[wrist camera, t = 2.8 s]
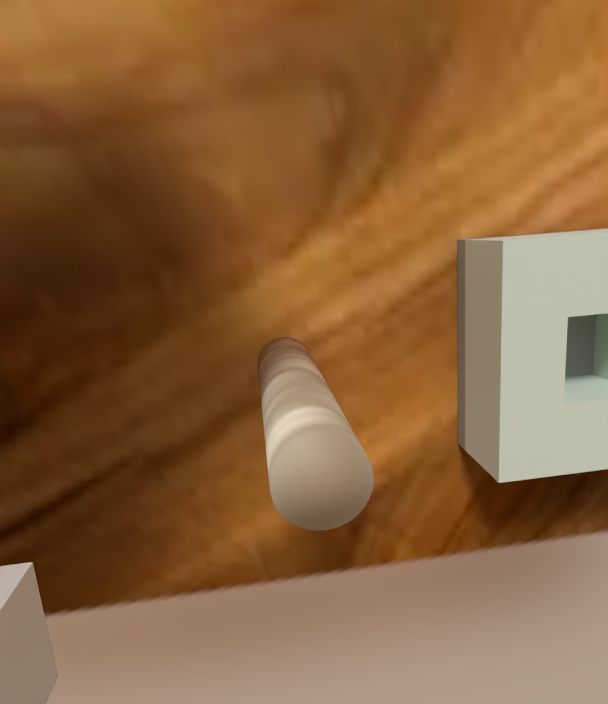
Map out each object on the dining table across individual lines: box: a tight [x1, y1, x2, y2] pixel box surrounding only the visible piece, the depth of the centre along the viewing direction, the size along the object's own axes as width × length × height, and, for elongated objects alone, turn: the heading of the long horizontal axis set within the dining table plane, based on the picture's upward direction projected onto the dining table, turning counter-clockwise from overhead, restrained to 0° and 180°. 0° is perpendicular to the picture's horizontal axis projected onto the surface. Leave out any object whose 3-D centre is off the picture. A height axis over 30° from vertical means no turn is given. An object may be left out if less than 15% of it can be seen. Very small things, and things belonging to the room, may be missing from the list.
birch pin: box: [258, 338, 373, 531], centre depth 21 cm, size 3×3×14 cm
